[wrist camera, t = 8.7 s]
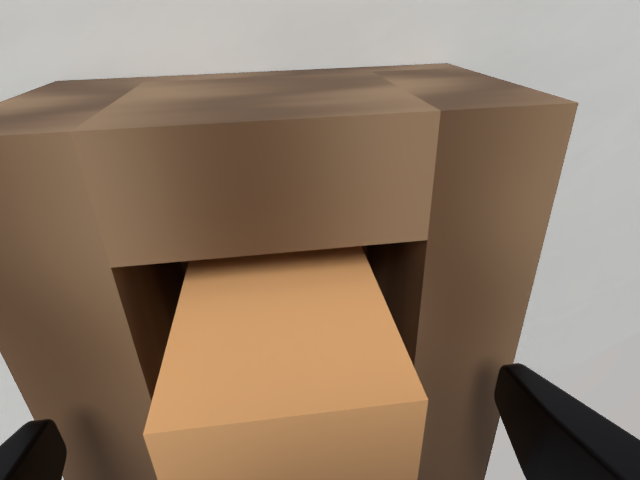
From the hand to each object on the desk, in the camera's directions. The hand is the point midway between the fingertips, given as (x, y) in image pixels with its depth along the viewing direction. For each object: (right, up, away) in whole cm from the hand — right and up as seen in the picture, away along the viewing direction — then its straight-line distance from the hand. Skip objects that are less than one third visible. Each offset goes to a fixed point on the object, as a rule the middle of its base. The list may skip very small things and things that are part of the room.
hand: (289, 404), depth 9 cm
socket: (-1, +3, +6) cm, 7 cm away
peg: (-1, +3, +5) cm, 6 cm away
